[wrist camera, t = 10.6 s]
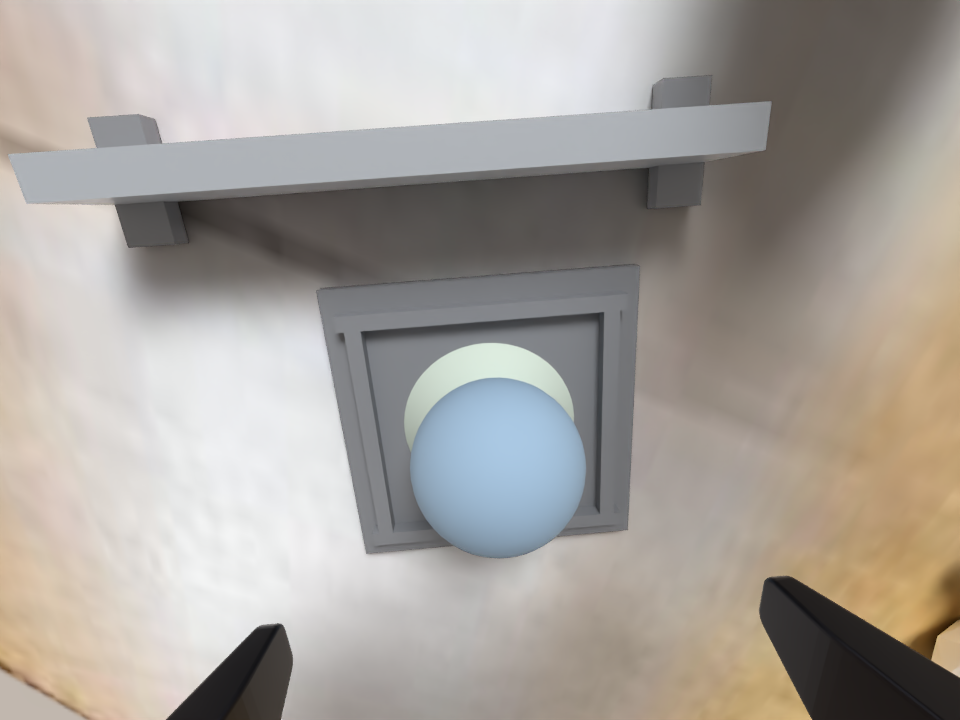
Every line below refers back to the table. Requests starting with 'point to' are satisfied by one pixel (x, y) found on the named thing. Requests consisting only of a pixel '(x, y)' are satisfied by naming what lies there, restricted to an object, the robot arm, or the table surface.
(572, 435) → the ball
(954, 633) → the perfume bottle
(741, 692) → the table surface
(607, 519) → the gray square tray
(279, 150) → the long gray bar
